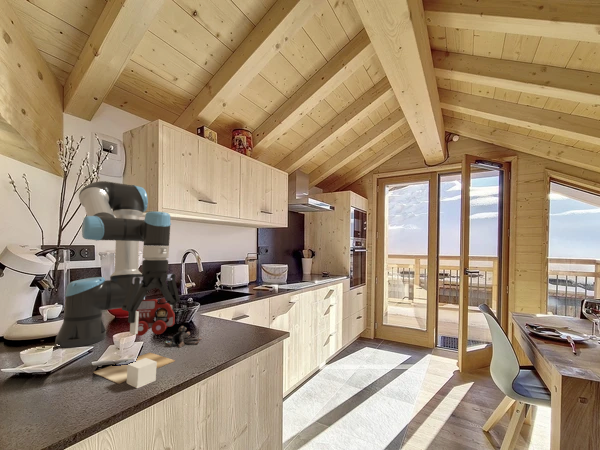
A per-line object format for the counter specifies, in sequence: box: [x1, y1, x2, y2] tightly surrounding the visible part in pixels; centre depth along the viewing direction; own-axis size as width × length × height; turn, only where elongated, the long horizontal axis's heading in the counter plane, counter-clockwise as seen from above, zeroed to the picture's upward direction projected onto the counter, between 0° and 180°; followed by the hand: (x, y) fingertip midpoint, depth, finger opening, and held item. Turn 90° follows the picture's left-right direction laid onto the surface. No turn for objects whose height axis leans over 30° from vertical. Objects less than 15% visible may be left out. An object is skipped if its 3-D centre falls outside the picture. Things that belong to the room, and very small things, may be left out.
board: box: [92, 352, 176, 385], centre depth 83 cm, size 13×17×1 cm
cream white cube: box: [126, 358, 157, 389], centre depth 74 cm, size 5×5×5 cm
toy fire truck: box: [135, 297, 176, 337], centre depth 88 cm, size 7×12×10 cm, turn 103°
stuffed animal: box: [165, 325, 203, 348], centre depth 105 cm, size 12×10×12 cm
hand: (151, 328), depth 87 cm, fingers closed on toy fire truck, 11 cm apart
